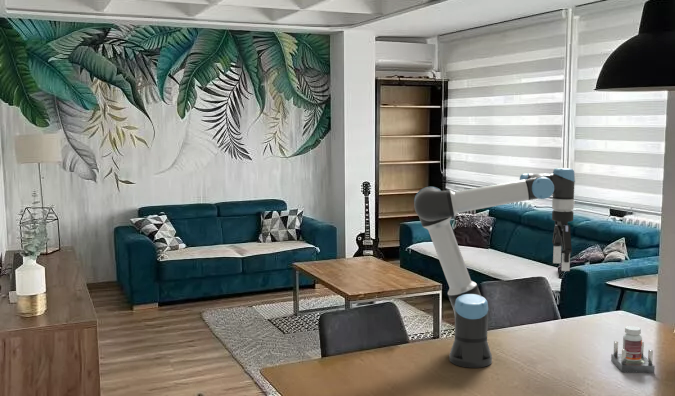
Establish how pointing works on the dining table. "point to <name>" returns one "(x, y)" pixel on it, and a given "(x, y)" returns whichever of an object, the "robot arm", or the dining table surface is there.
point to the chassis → (632, 366)
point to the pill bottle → (632, 343)
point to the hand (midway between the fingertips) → (561, 266)
